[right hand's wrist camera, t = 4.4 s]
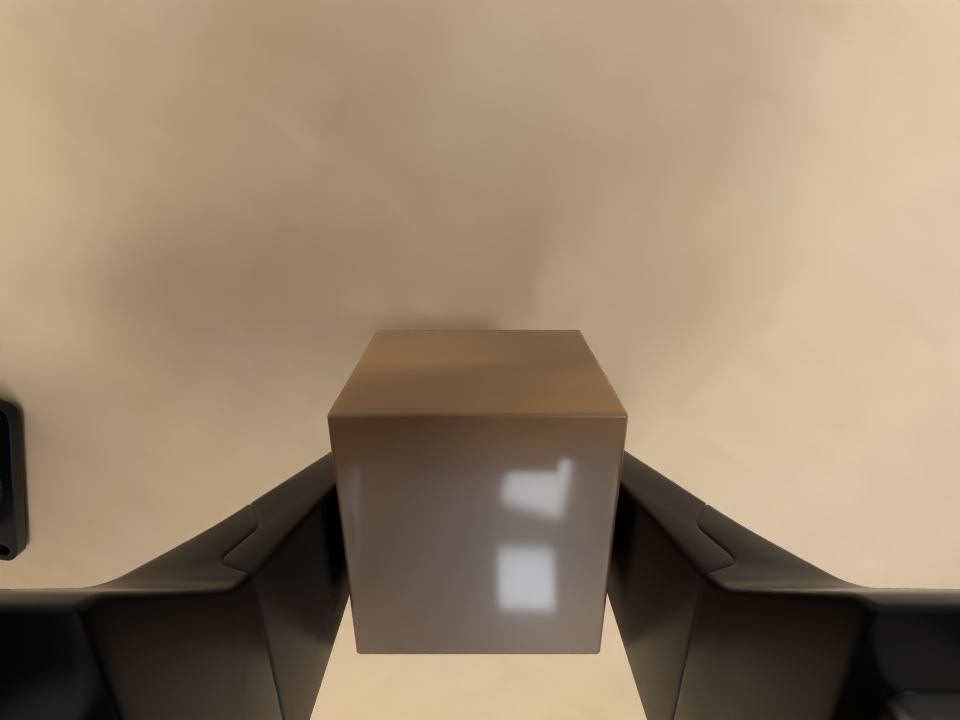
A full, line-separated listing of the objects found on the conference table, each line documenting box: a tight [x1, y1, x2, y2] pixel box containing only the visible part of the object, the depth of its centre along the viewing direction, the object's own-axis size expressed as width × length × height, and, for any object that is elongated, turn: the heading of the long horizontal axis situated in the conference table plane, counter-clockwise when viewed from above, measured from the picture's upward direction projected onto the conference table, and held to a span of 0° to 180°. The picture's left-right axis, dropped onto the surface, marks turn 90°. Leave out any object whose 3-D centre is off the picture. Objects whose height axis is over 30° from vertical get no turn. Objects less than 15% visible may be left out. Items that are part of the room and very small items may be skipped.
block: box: [327, 330, 628, 654], centre depth 10 cm, size 4×5×4 cm
